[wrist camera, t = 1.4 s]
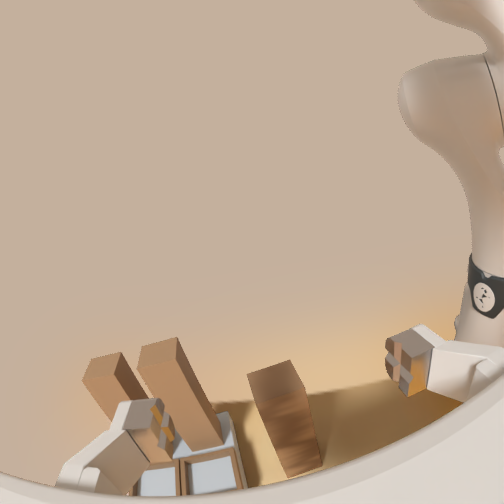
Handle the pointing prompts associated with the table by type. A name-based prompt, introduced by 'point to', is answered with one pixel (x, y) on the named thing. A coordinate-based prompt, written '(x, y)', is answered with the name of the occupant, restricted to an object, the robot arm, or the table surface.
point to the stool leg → (286, 416)
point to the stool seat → (184, 418)
